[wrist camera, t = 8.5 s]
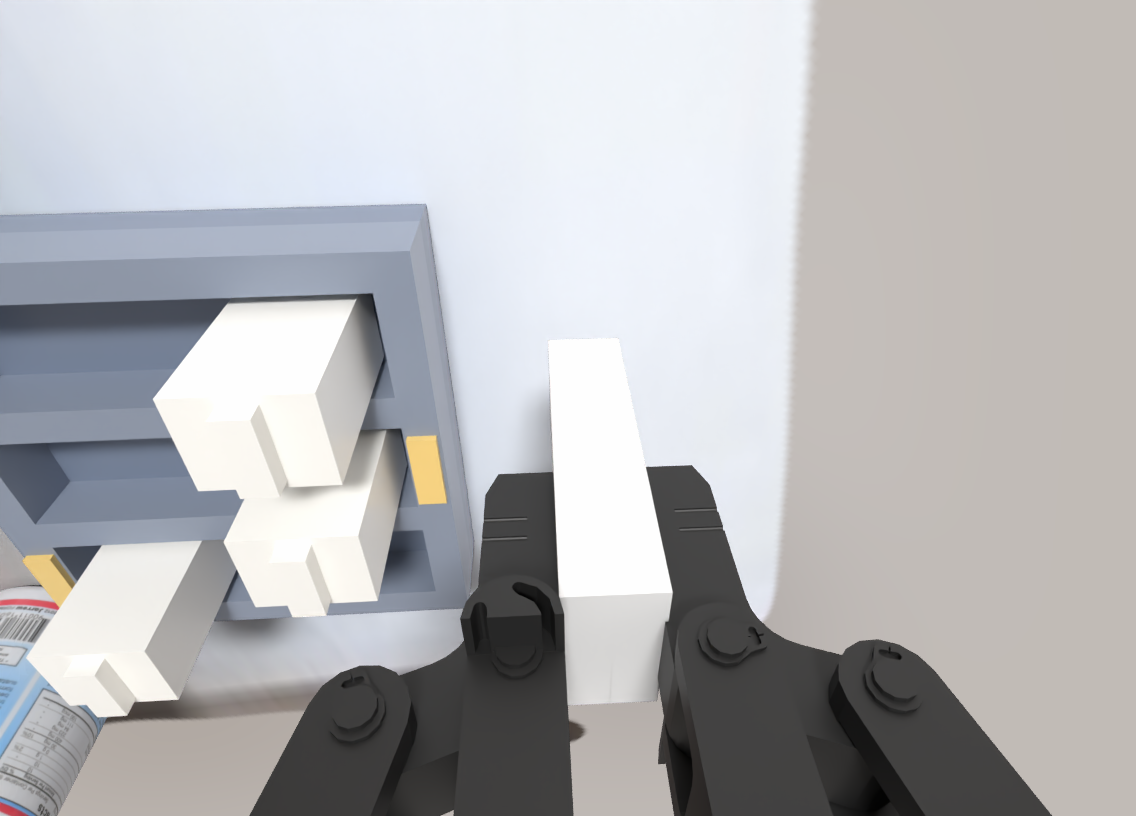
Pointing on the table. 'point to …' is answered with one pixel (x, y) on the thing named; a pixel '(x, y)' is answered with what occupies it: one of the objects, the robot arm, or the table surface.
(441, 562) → the switch bank
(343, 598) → the tab
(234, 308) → the tab
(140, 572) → the tab
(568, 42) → the table surface
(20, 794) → the pill bottle
